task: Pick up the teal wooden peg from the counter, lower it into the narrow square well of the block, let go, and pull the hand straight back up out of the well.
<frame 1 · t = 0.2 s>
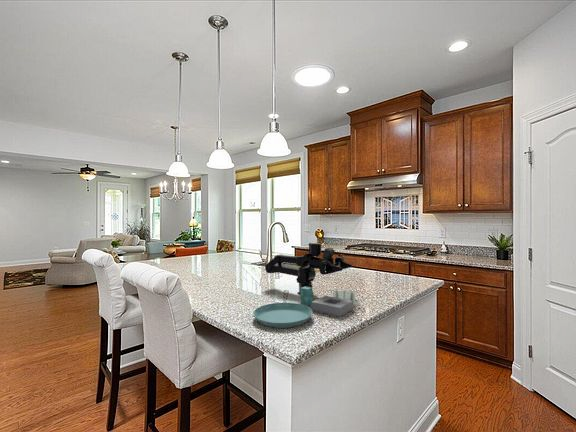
hand: (347, 267, 145), 17 cm above the table, tool horizontal, fingers open, 9 cm apart
metal bracket: (343, 302, 146), on the table
saucer: (283, 319, 123), on the table
well block: (332, 310, 132), on the table
teal peg: (306, 304, 141), on the table
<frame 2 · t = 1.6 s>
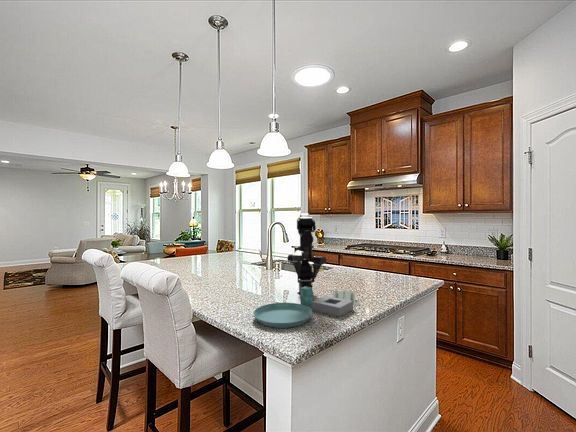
hand: (306, 277, 141), 13 cm above the table, tool pointing down, fingers open, 9 cm apart
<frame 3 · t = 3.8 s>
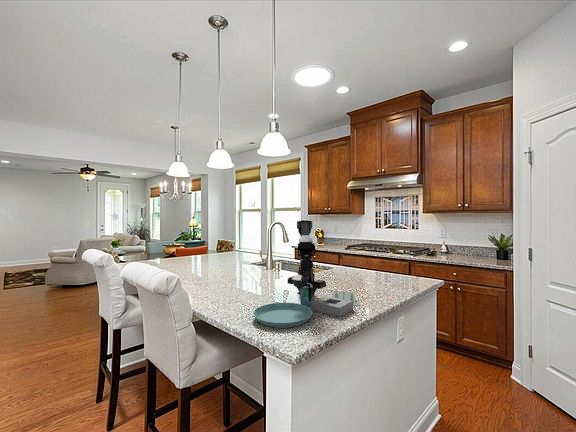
hand: (306, 300, 141), 2 cm above the table, tool pointing down, fingers closed on teal peg, 4 cm apart
teal peg: (306, 304, 141), on the table, touching gripper
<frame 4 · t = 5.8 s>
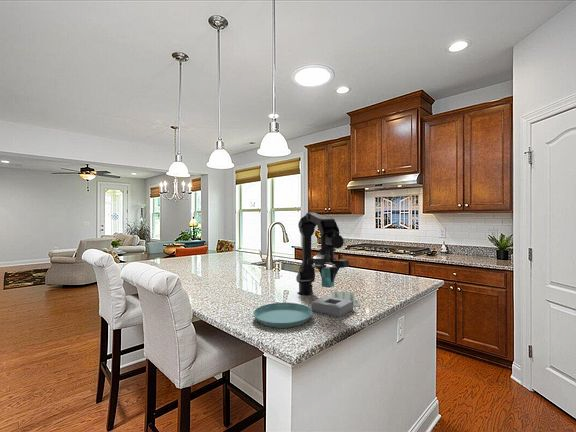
hand: (328, 281, 133), 13 cm above the table, tool pointing down, fingers closed on teal peg, 4 cm apart
metal bracket: (343, 303, 144), on the table, touching well block
teal peg: (328, 286, 133), point 10 cm above the table, touching gripper
everything else where it was.
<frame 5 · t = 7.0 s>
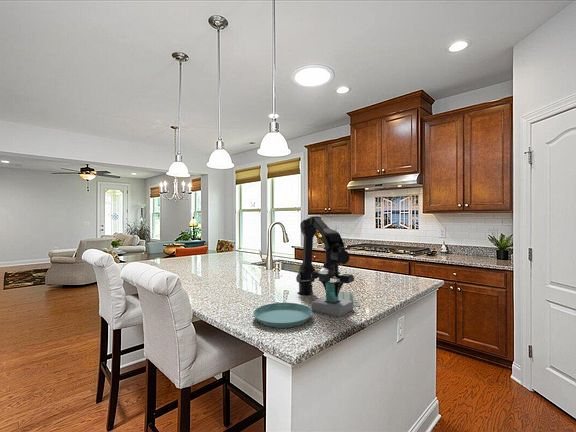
hand: (332, 295, 132), 6 cm above the table, tool pointing down, fingers closed on teal peg, 4 cm apart
metal bracket: (342, 303, 144), on the table
teal peg: (332, 300, 132), point 4 cm above the table, touching gripper
everything else where it was.
when the fingers open (5 cm above the table, at t = 8.0 s): teal peg drops 2 cm, resting on well block.
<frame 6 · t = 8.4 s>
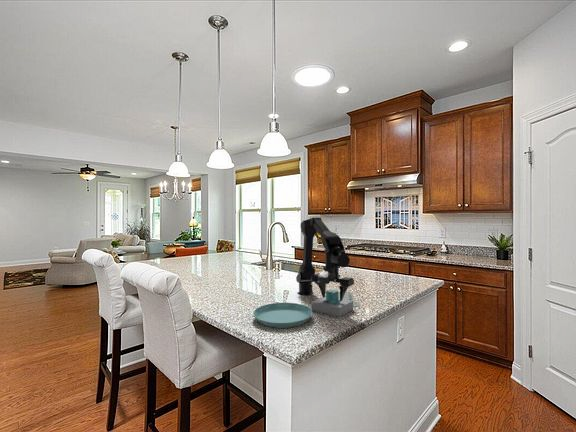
hand: (332, 299, 132), 5 cm above the table, tool pointing down, fingers open, 8 cm apart
teal peg: (332, 309, 132), point 1 cm above the table, touching well block
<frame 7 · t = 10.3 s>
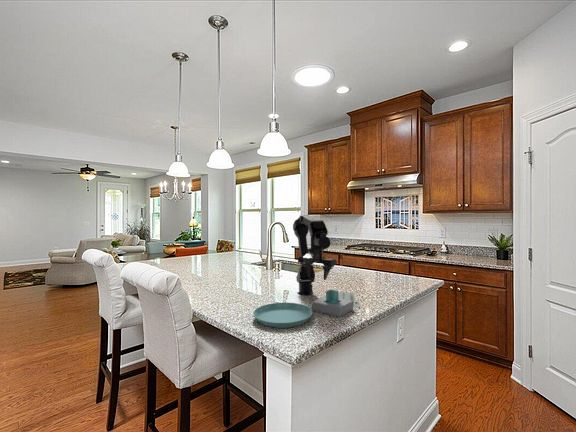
hand: (316, 278, 144), 12 cm above the table, tool pointing down, fingers open, 9 cm apart
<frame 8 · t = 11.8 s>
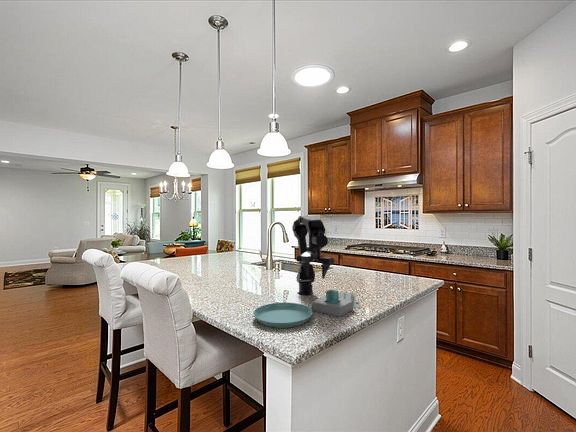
hand: (315, 277, 145), 12 cm above the table, tool pointing down, fingers open, 9 cm apart
metal bracket: (344, 304, 143), on the table, touching well block
everything else where it was.
at the end: teal peg 0.0 cm off-centre on the well block, point 0.5 cm above the well block's base; teal peg tilted 0°; the gripper is holding nothing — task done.
